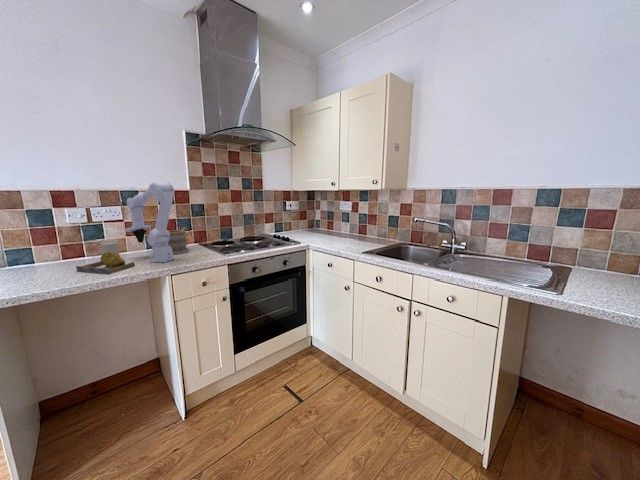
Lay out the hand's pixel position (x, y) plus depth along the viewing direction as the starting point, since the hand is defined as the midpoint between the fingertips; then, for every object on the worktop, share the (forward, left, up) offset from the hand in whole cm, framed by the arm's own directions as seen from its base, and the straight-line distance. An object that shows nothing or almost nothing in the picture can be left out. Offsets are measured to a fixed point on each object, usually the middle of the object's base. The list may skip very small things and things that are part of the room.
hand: (140, 242), depth 156 cm
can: (+12, +9, -10) cm, 18 cm away
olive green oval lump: (-3, +20, -10) cm, 23 cm away
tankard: (-10, -19, -10) cm, 24 cm away
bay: (-1, +22, -9) cm, 24 cm away
